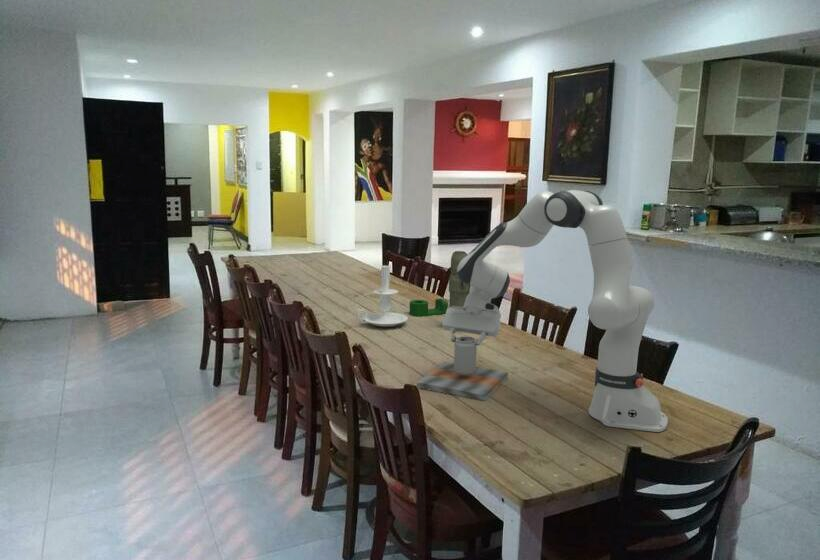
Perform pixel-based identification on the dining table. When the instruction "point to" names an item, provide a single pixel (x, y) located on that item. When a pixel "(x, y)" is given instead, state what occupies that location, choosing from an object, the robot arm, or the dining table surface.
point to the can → (465, 356)
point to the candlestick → (384, 305)
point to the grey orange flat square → (463, 381)
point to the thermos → (457, 282)
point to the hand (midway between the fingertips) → (465, 342)
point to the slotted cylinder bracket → (421, 308)
